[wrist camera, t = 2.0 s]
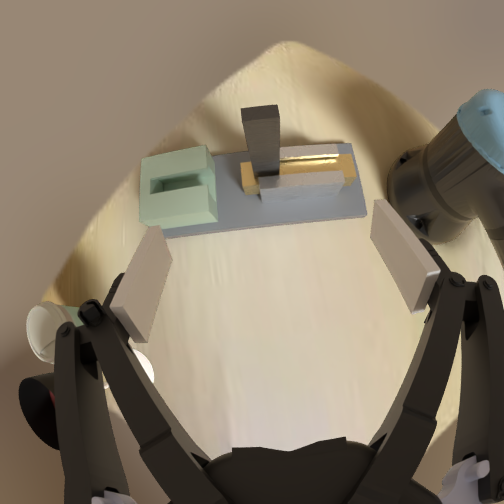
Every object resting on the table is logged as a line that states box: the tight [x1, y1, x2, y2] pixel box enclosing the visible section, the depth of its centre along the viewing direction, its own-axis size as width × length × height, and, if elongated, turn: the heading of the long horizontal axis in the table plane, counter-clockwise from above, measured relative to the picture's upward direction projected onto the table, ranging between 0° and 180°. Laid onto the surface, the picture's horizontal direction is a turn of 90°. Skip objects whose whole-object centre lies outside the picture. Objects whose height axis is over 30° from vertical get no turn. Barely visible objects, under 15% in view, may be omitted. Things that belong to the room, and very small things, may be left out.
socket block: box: [139, 145, 218, 229], centre depth 34 cm, size 9×9×5 cm
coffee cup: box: [26, 301, 84, 364], centre depth 31 cm, size 9×9×12 cm
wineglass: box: [19, 349, 154, 450], centre depth 26 cm, size 8×9×20 cm
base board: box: [161, 143, 367, 239], centre depth 37 cm, size 30×11×2 cm, turn 96°
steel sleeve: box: [258, 144, 345, 203], centre depth 33 cm, size 10×5×5 cm, turn 95°
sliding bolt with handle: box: [240, 105, 357, 195], centre depth 27 cm, size 14×3×15 cm, turn 95°
